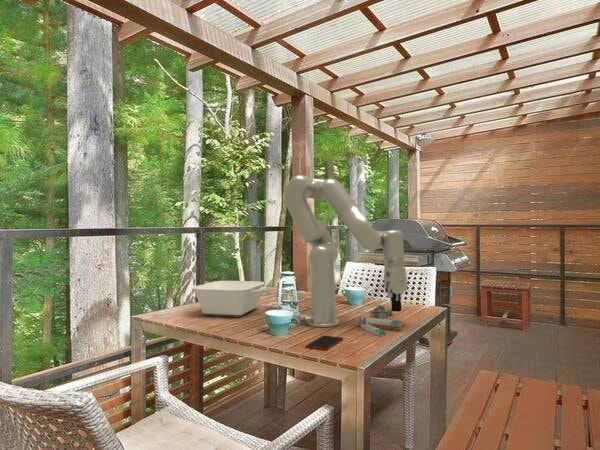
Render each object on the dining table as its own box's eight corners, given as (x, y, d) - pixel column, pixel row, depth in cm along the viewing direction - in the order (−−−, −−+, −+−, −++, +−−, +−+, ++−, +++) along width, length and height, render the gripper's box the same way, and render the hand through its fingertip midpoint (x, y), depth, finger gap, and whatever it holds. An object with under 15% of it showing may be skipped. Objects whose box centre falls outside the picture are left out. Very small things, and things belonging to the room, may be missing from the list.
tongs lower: (357, 325, 162) (357, 317, 162) (363, 325, 163) (363, 316, 163) (378, 336, 146) (378, 326, 146) (385, 335, 147) (385, 326, 147)
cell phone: (344, 340, 143) (344, 337, 143) (326, 352, 130) (326, 349, 130) (323, 338, 147) (323, 335, 147) (304, 349, 134) (304, 346, 134)
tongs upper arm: (365, 322, 159) (365, 318, 159) (368, 321, 161) (368, 317, 161) (399, 326, 152) (399, 322, 152) (401, 325, 154) (401, 321, 154)
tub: (181, 317, 183) (180, 288, 183) (211, 306, 209) (210, 280, 209) (253, 321, 173) (252, 290, 173) (275, 308, 199) (275, 281, 199)
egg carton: (380, 313, 186) (379, 303, 186) (395, 315, 181) (395, 305, 181) (367, 317, 178) (367, 307, 178) (383, 319, 173) (383, 309, 173)
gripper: (393, 264, 151) (395, 315, 151) (412, 260, 163) (414, 308, 162) (375, 264, 156) (377, 313, 156) (394, 260, 168) (397, 306, 167)
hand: (396, 310), depth 159 cm, fingers closed
